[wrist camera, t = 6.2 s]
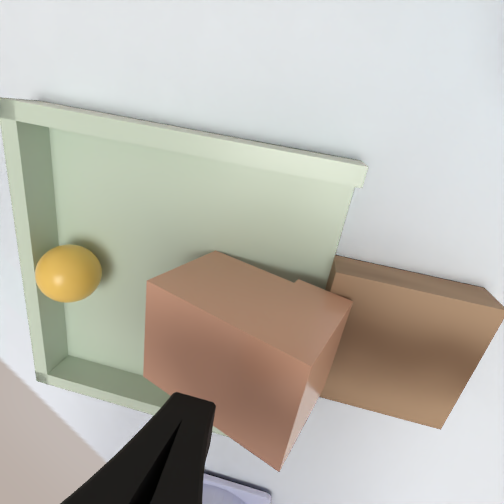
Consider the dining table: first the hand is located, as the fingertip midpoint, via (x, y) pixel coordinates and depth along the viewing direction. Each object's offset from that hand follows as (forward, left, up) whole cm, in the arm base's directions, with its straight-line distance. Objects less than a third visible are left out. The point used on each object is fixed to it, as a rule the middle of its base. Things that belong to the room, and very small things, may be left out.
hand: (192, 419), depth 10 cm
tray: (0, +4, -8) cm, 9 cm away
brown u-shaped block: (0, -4, -3) cm, 5 cm away
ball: (0, +10, -5) cm, 11 cm away
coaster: (0, -8, -8) cm, 11 cm away
